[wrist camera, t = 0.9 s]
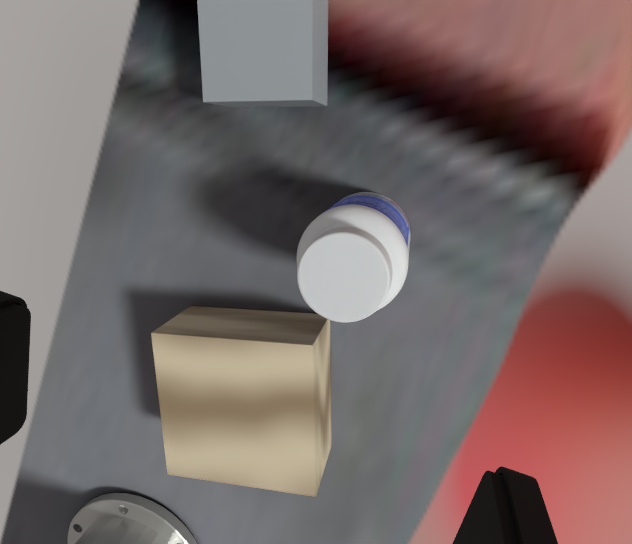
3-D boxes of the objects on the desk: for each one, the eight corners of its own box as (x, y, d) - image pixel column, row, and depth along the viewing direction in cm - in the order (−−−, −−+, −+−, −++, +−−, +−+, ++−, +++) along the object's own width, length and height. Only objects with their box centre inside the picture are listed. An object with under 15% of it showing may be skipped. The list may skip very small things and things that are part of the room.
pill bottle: (320, 194, 28) (270, 217, 19) (409, 187, 27) (402, 208, 18) (328, 279, 30) (285, 338, 20) (413, 276, 28) (409, 338, 19)
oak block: (331, 446, 33) (315, 496, 28) (202, 430, 35) (167, 474, 30) (329, 314, 30) (312, 345, 25) (190, 305, 32) (150, 332, 28)
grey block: (327, 106, 27) (312, 99, 23) (232, 107, 28) (203, 102, 25) (328, -9, 25) (312, -36, 22) (227, -2, 27) (195, -26, 23)
